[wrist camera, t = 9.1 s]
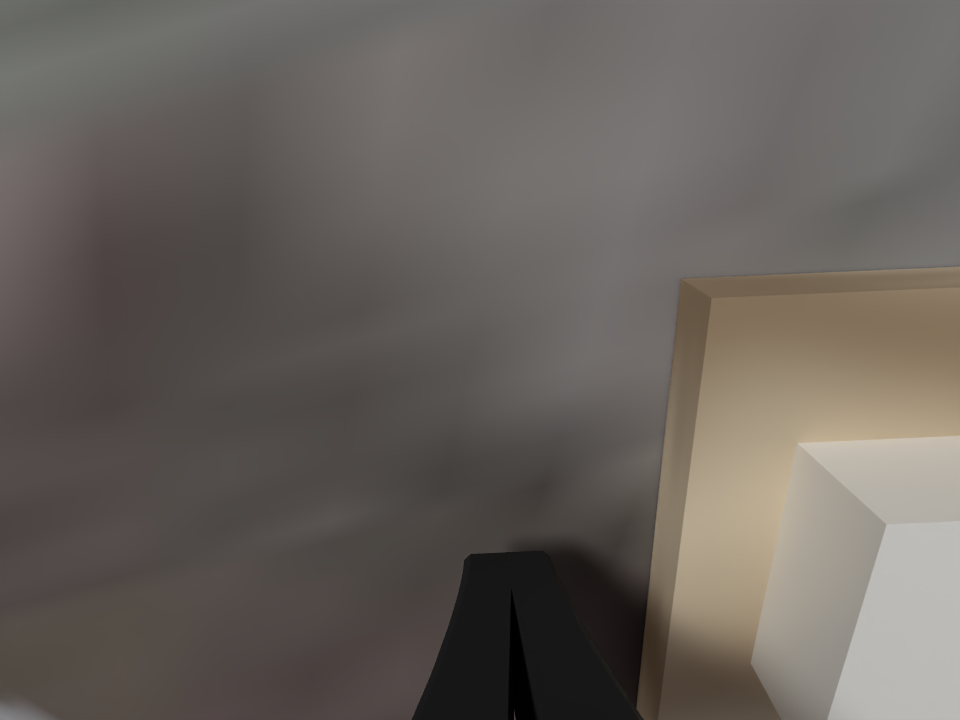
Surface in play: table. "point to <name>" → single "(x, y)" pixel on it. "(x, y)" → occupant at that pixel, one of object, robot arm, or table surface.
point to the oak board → (773, 449)
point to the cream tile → (866, 584)
